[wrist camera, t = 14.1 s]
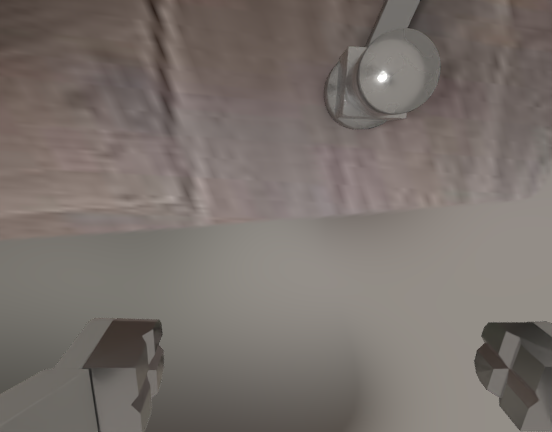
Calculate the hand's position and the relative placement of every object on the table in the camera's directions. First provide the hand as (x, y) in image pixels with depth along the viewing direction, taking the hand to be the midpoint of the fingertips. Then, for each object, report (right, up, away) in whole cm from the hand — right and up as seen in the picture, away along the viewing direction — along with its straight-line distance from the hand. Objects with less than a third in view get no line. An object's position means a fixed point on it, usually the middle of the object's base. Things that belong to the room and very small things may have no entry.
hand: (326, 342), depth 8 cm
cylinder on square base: (+7, +15, +22) cm, 28 cm away
